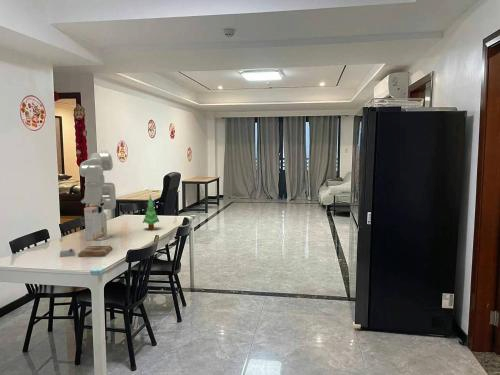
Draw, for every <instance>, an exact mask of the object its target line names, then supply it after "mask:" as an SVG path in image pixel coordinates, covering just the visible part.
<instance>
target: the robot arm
mask: <svg viewBox="0 0 500 375" xmlns="http://www.w3.org/2000/svg"><path fill="white" fill-rule="evenodd" d="M113 162H114V161H113V158H112V155H111V154H110V153H109V152H94V153H93V152H92V153H91V155H90V156H89V159H86V160H84V161H82V162H81V163H80V165H79V168H78V173H79V175H80V176H81V177H83V178H84V177H85V178H86V183H84V184H83V185H84V186H85V188H84V197H83V199H81V200H80V203H81V204H83V205H84V208H87V207H90V206H94V205H99V207H98V209H99V213H101V212H102V206H103V207H104V211H105V210H114V209H116V207H117V206H116V205H117V202H116V201H117V198H116V195H117V194H116V186H115V183H113V182H106V181H105V175H104V171H105V172H106V171H112V170H113V166H114V165H113ZM107 222H108V221H107V214H106V213H105V212H104V226H105V236H103V237H101V238H99V239H96V240H95V241H104V240H108V239H109V238H110V235H108V227H107V226H108V224H107Z"/></svg>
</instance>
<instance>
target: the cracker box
mask: <svg viewBox="0 0 500 375" xmlns="http://www.w3.org/2000/svg"><path fill="white" fill-rule="evenodd" d="M89 206H90V207H87V208H86V207H84V208H83V214H84V228H85V229H84V230H85V232H84V233H85V241H87V242H88V241H90V242H91V241H97V240H96V239H99V238H101V237H103V236H105V226H104V213H105V210H104V207H103V206H102V212H101V213H99V209H98V207H99V205H94V206H91V205H89Z"/></svg>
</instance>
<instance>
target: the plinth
mask: <svg viewBox="0 0 500 375" xmlns="http://www.w3.org/2000/svg"><path fill="white" fill-rule="evenodd" d="M112 251H113V246H111V245H88V246H86V248H84V249H82V250H80V251H79V253H78V255H77V256H78V258H94V257H95V258H97V257H99V258H103V257H106V256H107V255H109V253H111V252H112Z"/></svg>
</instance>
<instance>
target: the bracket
mask: <svg viewBox="0 0 500 375" xmlns="http://www.w3.org/2000/svg"><path fill="white" fill-rule="evenodd" d="M75 250H76V249H73V248H69V249H68V250H67V249H66V250H60V252H59V257H60V258H66V257H74V256H76V255H75V254H76V253H75V252H76V251H75Z"/></svg>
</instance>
